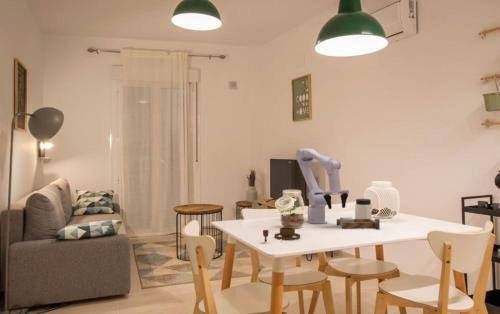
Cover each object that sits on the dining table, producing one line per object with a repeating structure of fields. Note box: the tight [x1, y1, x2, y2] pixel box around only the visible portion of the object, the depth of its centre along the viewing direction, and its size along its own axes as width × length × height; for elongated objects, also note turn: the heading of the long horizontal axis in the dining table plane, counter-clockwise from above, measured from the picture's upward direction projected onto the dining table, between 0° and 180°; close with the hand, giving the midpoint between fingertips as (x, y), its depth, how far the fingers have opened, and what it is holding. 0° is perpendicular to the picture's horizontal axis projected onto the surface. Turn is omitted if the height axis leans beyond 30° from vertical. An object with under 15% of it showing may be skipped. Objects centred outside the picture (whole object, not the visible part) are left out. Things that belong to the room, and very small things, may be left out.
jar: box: [354, 198, 372, 220], centre depth 238 cm, size 9×8×12 cm
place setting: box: [262, 226, 301, 243], centre depth 191 cm, size 18×20×6 cm
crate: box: [339, 216, 355, 228], centre depth 219 cm, size 6×6×4 cm
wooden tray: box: [336, 218, 381, 230], centre depth 218 cm, size 19×14×5 cm
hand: (336, 208), depth 218 cm, fingers open, 7 cm apart
